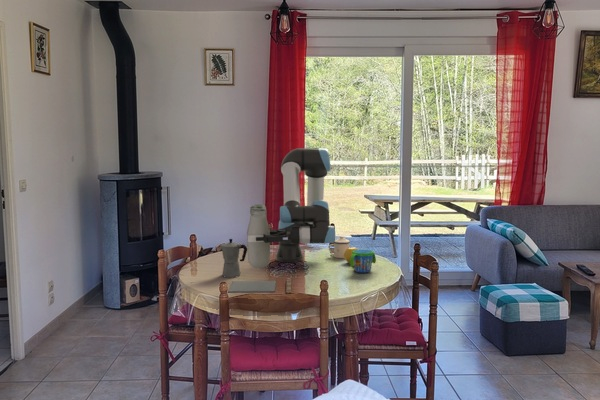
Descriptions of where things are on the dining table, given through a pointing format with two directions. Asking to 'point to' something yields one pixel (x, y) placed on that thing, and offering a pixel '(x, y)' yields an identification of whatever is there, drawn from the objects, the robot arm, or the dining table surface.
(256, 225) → the grey green rounded cylinder
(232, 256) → the coffeepot
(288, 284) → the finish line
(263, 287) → the mat
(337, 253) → the teacup with lid
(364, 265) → the snack cup
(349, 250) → the dumbbell
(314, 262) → the dining table surface
